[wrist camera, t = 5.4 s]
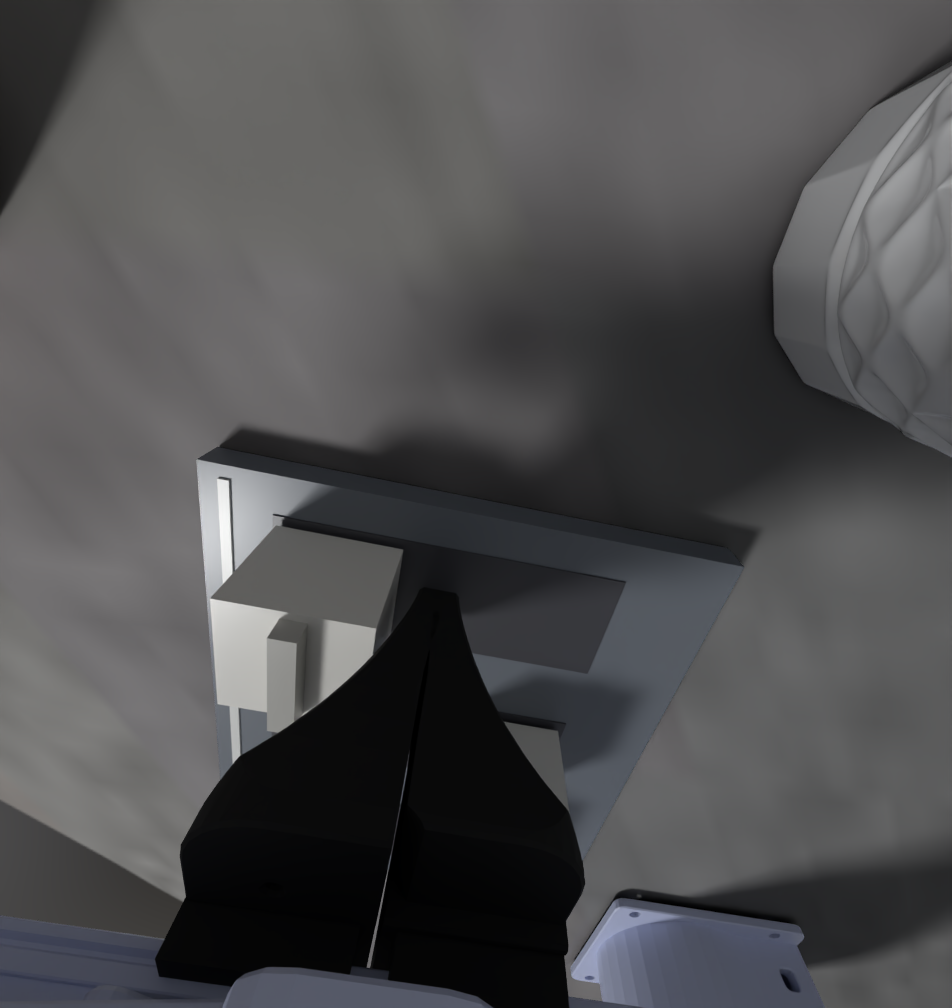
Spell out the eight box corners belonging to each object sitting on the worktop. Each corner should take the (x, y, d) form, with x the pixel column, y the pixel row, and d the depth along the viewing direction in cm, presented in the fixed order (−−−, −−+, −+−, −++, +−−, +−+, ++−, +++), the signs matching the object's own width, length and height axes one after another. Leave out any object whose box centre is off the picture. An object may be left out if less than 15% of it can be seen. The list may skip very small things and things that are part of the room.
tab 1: (403, 549, 13) (368, 648, 9) (390, 636, 14) (355, 751, 11) (276, 525, 12) (192, 617, 9) (275, 616, 14) (203, 726, 10)
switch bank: (727, 547, 14) (745, 568, 13) (560, 870, 21) (563, 898, 20) (217, 447, 13) (194, 460, 12) (236, 819, 21) (224, 846, 20)
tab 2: (557, 731, 16) (575, 857, 12) (534, 788, 17) (544, 916, 14) (456, 713, 15) (445, 837, 12) (441, 772, 17) (427, 898, 13)
